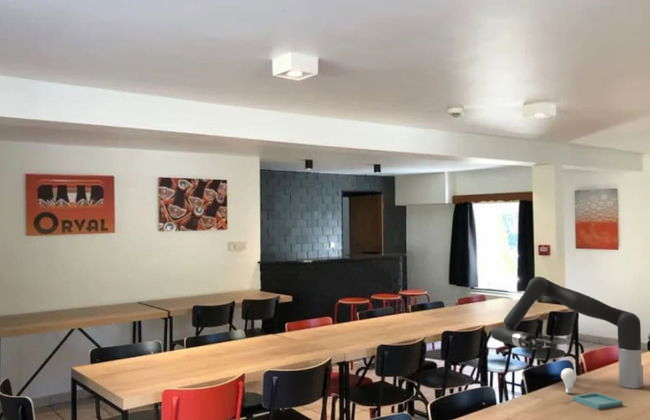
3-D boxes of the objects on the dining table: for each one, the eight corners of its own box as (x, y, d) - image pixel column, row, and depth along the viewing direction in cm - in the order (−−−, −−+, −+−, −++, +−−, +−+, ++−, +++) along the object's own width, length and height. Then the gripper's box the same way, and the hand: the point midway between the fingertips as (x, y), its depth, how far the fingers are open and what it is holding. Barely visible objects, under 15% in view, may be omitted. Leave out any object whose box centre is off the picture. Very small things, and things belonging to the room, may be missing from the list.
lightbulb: (575, 392, 249) (575, 367, 249) (578, 396, 243) (577, 370, 243) (560, 391, 250) (559, 366, 251) (562, 395, 244) (561, 369, 245)
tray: (596, 397, 241) (595, 392, 241) (622, 405, 229) (622, 400, 229) (573, 400, 236) (572, 395, 236) (598, 409, 224) (598, 404, 224)
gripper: (512, 333, 270) (536, 339, 255) (535, 331, 275) (560, 337, 260) (512, 349, 270) (537, 356, 255) (535, 347, 275) (561, 354, 260)
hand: (549, 347), depth 257 cm, fingers open, 8 cm apart
